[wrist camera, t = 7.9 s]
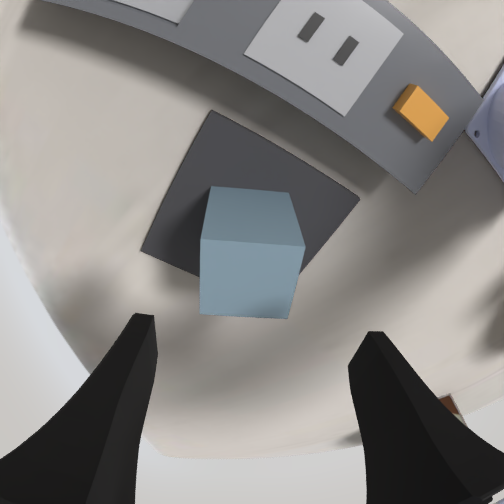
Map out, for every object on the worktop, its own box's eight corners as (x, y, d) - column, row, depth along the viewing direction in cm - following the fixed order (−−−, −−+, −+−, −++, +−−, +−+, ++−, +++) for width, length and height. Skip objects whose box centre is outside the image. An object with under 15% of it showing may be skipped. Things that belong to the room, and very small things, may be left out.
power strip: (453, 90, 14) (492, 103, 11) (393, 173, 18) (422, 201, 15) (102, -97, 7) (75, -118, 4) (42, -2, 10) (3, -6, 7)
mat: (358, 196, 19) (360, 199, 18) (270, 303, 23) (271, 307, 23) (211, 109, 15) (211, 110, 15) (142, 247, 20) (140, 251, 20)
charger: (288, 192, 18) (305, 246, 13) (277, 257, 21) (286, 320, 16) (211, 186, 18) (200, 239, 13) (207, 252, 20) (199, 316, 16)
